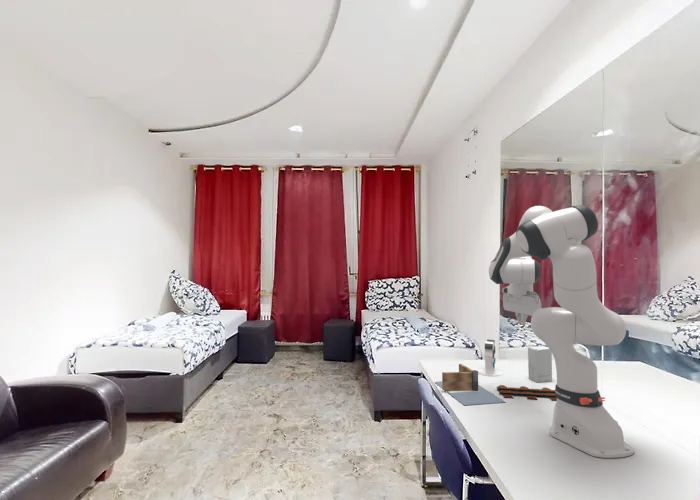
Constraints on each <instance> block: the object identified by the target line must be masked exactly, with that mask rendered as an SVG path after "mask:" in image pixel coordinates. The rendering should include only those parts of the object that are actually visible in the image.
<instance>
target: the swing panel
mask: <svg viewBox="0 0 700 500" xmlns="http://www.w3.org/2000/svg"><path fill="white" fill-rule="evenodd" d="M441 374H442V375H441V377H442V378H441V379H442V380H441V381H442V388H441V389H442V391H445V390H472V373H471V372H459V371H456V372H455V371H453V372H451V371H447V372H445V371H443V372H441Z"/></svg>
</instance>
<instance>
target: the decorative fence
mask: <svg viewBox="0 0 700 500" xmlns="http://www.w3.org/2000/svg"><path fill="white" fill-rule="evenodd" d="M496 390H497V391H498V393H499V395H502V397H503V399H514V396H520V397H521V396H522V397H524V396H525V398H526V400H531V401H532V400H533V401H537V400H538V398H537V397H539V398H549V399H550V400H551V401H552V402H556V400H557V397H556V396H555V389H551V388H549V387H542V388H541V389H540V388H529V387H526V386H520V387H509V386H505V385H502V384H499V385H498V386H496Z"/></svg>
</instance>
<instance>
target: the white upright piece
mask: <svg viewBox="0 0 700 500" xmlns="http://www.w3.org/2000/svg"><path fill="white" fill-rule="evenodd" d="M495 342H496V341H495V339H486V341H485V343H484V353H483V356H484V357H483V358H484V368H480V369H478V370H477V371H478V375H479V374H480V375H482V376H487V377H500V376H501V377H502V376H503V372H502V371H501V370H498V369H495V366H496V365H495V364H496V358H495V356H496V355H495V354H496V344H495Z"/></svg>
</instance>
